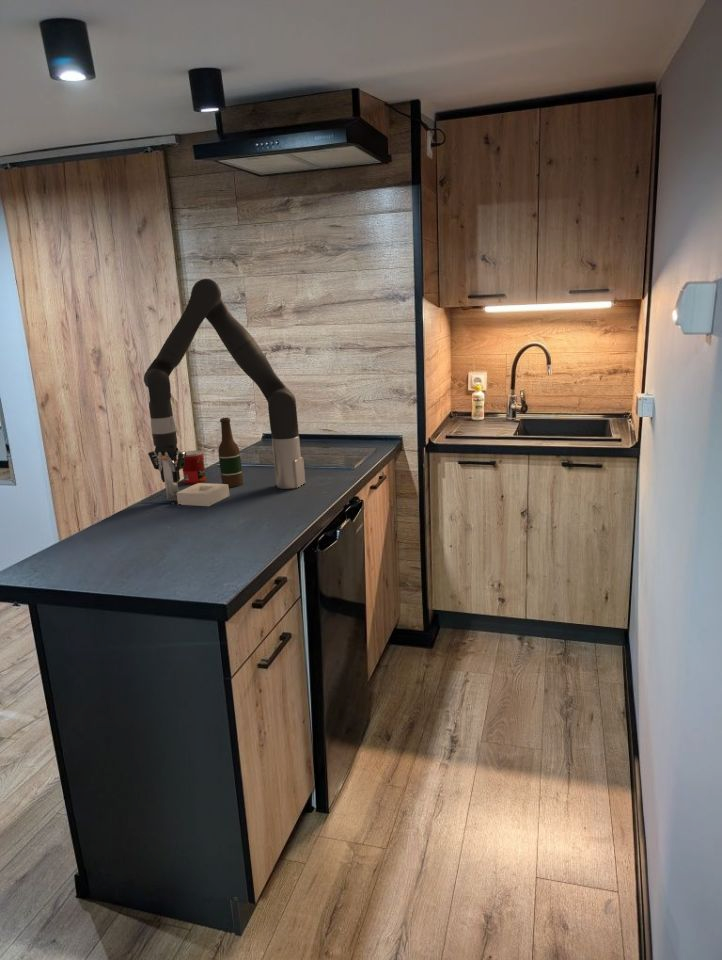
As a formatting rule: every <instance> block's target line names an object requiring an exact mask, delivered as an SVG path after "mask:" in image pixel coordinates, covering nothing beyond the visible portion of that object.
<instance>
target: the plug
mask: <svg viewBox="0 0 722 960" xmlns="http://www.w3.org/2000/svg"><path fill="white" fill-rule="evenodd" d="M172 462H174V460H173V461H172ZM174 465H175V464H174ZM162 466H163V473H164V480H165V482H164V485H165V486H164V487H165V493H166V499H167V501H175V500H177V492H179V491H180V489H179V482H177V483H174V480H173V473H172V472H173V471H172V468H171V466H170V465H169V463H168V460H167V458H166V456H165V455H162Z"/></svg>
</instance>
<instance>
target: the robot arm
mask: <svg viewBox="0 0 722 960" xmlns="http://www.w3.org/2000/svg"><path fill="white" fill-rule="evenodd" d="M205 319H206V320H207V321H208V323H209V324H210V325H211V326H212V327H213V329H214V330H215V332H216V334H217V335H218V337H219V339H220V341H221V342H222V344H223V346H224V347H225V348H226V350H227V351H228V353H229V355H231V358H232V359H234V361H235V363H236V365H238V366H239V367H240V369H241V370H242V371H243V372H244V374H246V375H247V376H248V377H249V378H250V379H251V380H252V381H253V383H254V384H256V386H257V387H258V388H259V390H260V391H261V394H262V395H263V396H264V397H265V400H266V402H267V409H268V418H269V427H270V434H271V444H272V453H273V463H274V464H273V465H274V473H275V483H276V487H277V488H278V489H281V490H283V489H284V490H285V489H286V490H289V489H299V488H301V487H302V486H304V485H305V484H304V483H306V473H305V463H304V457H303V456H301V455H302V453H301V444H300V433H299V422H298V413H297V412H298V411H297V402H296V401H297V400H296V397H295V395H294V393H292V391H291V390H290V389H289V388H288V387H287V386H286V385H285V384H284V383H283V381H282V380H281V378H280V377H279V376H278V374H276V372H275V370H274V369H273V368H272V366H271V363H270V362H269V360H268V358H267V357H266V355H265V353H264V352H263V350H262V348H261V347H260V346H259V344H258V343H257V341H256V340H255V339H254V337H253V336H252V334H251V333H250V332H249V331H248V330H247V329H246V328H245V327H244V326H243V325H242V324H241V323H240V322H239V321H238V320H237V319H236V318H235V317H234V316H233V315H232V313H231V312H230V310H229V309H228V307H227V306H226V304H225V302H224V301H223V299H222V291H221V287H220V286H219V284H218V283H217V282H216V281H215V280H212V278H211V279H210V278H202V279H200V280H198V281H196V282H195V283H194V285H193V287H192V289H191V292H190V297H189V299H188V302H187V305H186V307H185V309H184V311H183V313H182V314H181V316H180V318H179V320H178V321H177V323H176V324H175V326H174V327H173V329H172V330H171V332H170V333H169V335H168V337H167V338H166V340H165V341H164V343H163V344H162V347H161V349H160V350H159V352H158V354H157V356H156V357H155V358H154V360H152V362H151V363H150V365H149V366H148V368H147V369H146V371H145V373H144V375H143V382H144V385H145V386H146V388H147V389H148V395H149V402H148V408H149V409H148V410H149V415H150V429H151V437H152V442H153V446H154V450H153V451H149V452H148V456H149V459H150V462H151V464H152V466H153V469H154V470H158V471H159V472H160V479H161V481H162V482H163V483H165V480H164V473H163V466H162V455H165V456H166V458H167V460H168V463H169V465H170V466H171V468H172V471H173V472H172V473H173V480H174V483H177V482H178V483H180V480H181V474H180V471H181V470H183V468H184V464H185V458H186V451H185V450H184V451H181V450H179V448H178V446H177V445H178V437H177V435H178V434H177V430H176V429H177V428H176V421H175V419H174V414H173V408H172V407H173V406H172V401H171V399H172V398H171V397H172V396H171V389H172V388H171V380H170V376H171V374H172V372H173V370H174V369H175V368H177V367H178V366H179V365H180V363H181V361H182V360H183V359H184V356H185V355H186V353H187V351H188V349H189V348H190V346H191V344H192V341H193V339H194V337H195V335H196V334H197V331H198V330H199V328H200V327H201V324H202V323H203V321H204V320H205ZM173 460H174V462H172V461H173ZM174 464H175V465H174ZM303 484H304V485H303ZM301 485H302V486H301ZM298 487H299V488H298Z"/></svg>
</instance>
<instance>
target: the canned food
mask: <svg viewBox="0 0 722 960" xmlns="http://www.w3.org/2000/svg"><path fill="white" fill-rule="evenodd" d="M185 452H186V458H185V464H184V468H183V469H182V473H183V481H184V483H185V484H187V485H195V484H197V483H205V482H206V481H207V480H206V479H207V477H206V467H205V461H204V460H205V459H204V458H205V457H204V454H203V453H204V452H203V450H187V451H185Z"/></svg>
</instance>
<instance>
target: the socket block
mask: <svg viewBox="0 0 722 960" xmlns="http://www.w3.org/2000/svg"><path fill="white" fill-rule="evenodd" d="M229 488H230V487H228V484H222V483H209V482H208V483H205V482H202V483H197V484H192V485H191V486H188V487H186V488H183V489H182V490H179V492H177V499H176V500H177V505H179V504H181V505H183V506H199V507H201V506H202V507H210V506H212V505H214V504H217V503H219V502H220V501H223V500H224V499H226V498H228V497H230V489H229Z"/></svg>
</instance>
